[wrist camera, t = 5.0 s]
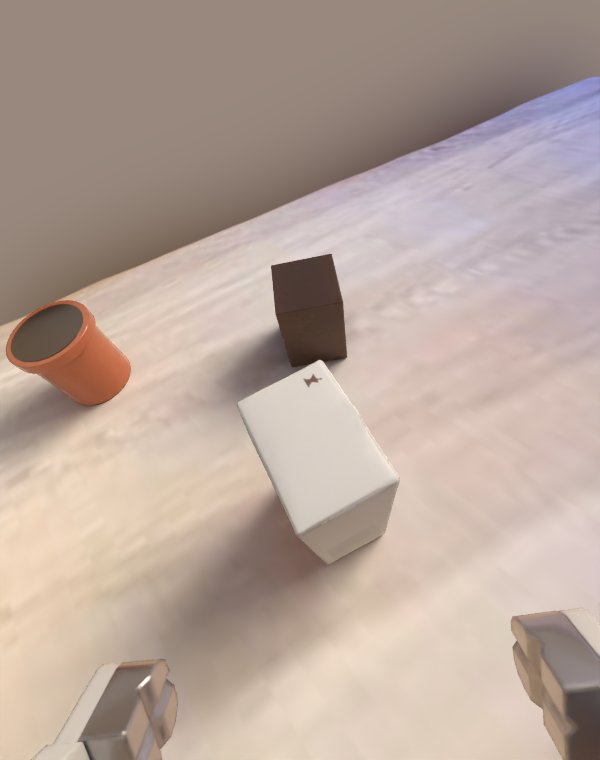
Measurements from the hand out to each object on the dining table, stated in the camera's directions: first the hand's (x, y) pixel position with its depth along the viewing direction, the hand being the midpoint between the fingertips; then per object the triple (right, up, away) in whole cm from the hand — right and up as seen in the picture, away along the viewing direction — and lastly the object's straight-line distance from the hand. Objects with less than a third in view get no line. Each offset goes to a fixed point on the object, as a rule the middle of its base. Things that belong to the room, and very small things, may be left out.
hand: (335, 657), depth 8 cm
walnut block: (0, +10, +23) cm, 25 cm away
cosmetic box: (+1, -2, +15) cm, 16 cm away
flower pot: (-19, +7, +24) cm, 31 cm away
